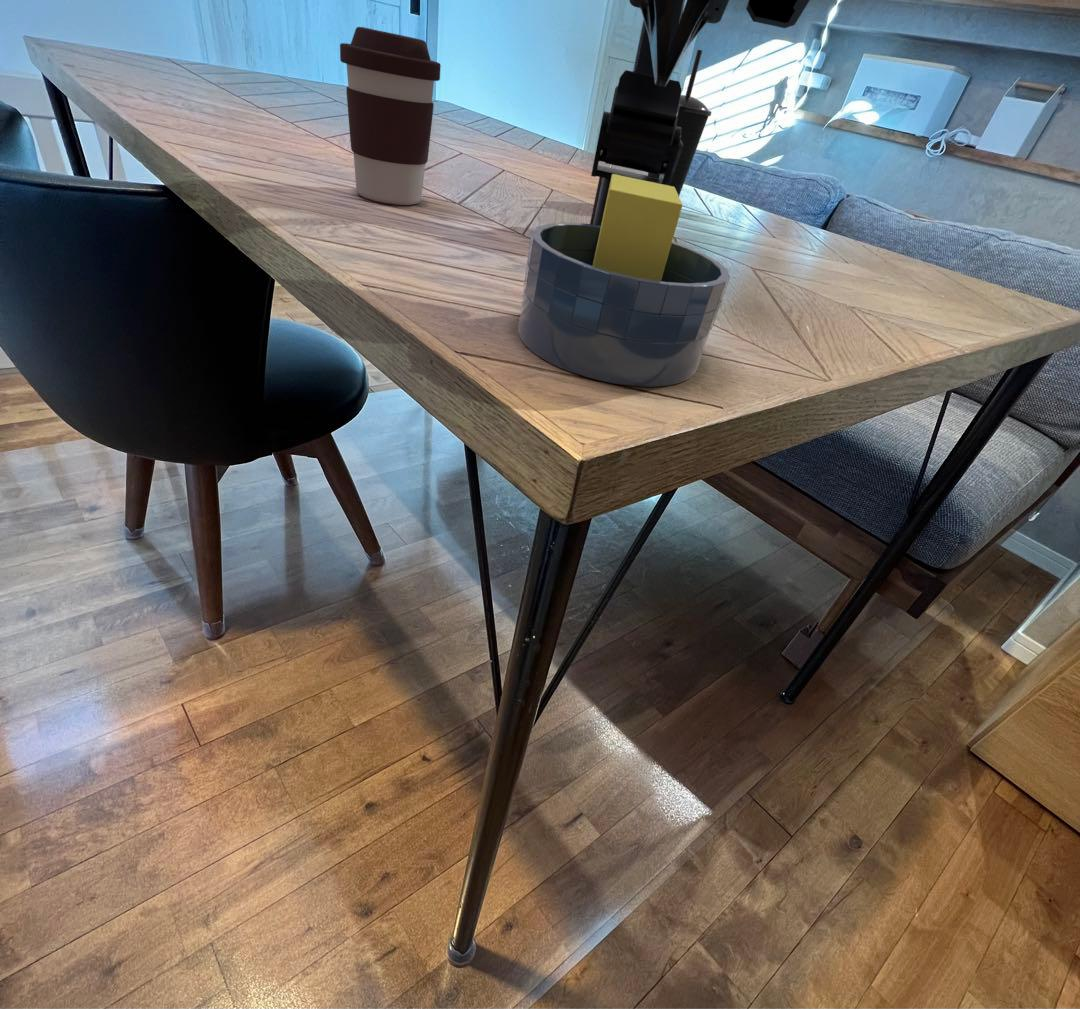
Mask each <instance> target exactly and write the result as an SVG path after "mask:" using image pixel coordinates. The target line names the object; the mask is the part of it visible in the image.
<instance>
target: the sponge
mask: <svg viewBox="0 0 1080 1009" xmlns="http://www.w3.org/2000/svg"><path fill="white" fill-rule="evenodd" d="M682 208H683V203H682V201H681V198H680V195H679V196H678V193H677V191H676V189H675V187H673V186H668V185H663V184H658V183H654V182H649V181H644V180H639V179H635V178H630V177H625V176H620V175H616V174H612V176H611V181H610V186H609V190H608V195H607V200H606V205H605V209H604V214H603V219H602V223H601V228H600V233H599V237H598V242H597V247H596V251H595V256H594V261H593V265H592V266H595V267H598V268H601V269H605V270H608V271H611V272H615V273H620V274H624V275H629V276H633V277H637V278H643V279H650V280H656V281H661V279H662V275H663V272H664V268H665V265H666V261H667V258H668V254H669V251H670V247H671V244H672V242H673V239H674V236H675V233H676V229H677V226H678V223H679V218H680V215H681V212H682Z"/></svg>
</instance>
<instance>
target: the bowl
mask: <svg viewBox="0 0 1080 1009" xmlns="http://www.w3.org/2000/svg"><path fill="white" fill-rule="evenodd" d="M600 228H601V225H594V224H590V223H583V222H555V223H546V224H542V225H539V226H536V227H535V228H534V229H533V231H531V234H530V239H529V247H528V253H527V261H526V267H525V273H524V280H523V292H522V297H521V298H522V299H521V305H520V306H521V307H520V312H519V319H518V326H517V333H518V336H519V339H520V340H521V342H522V343H523V344H524V345H525V346H526V348H527V349H528V350H530V352H532V353H533V354H535V356H538V357H539V358H541V359H542V360H544V361H546V362H547V363H549V364H551V365H553V366H555V367H557V368H560V369H562V370H565V371H567V372H570V373H572V374H575V375H578V376H581V377H585V378H588V379H591V380H595V381H599V382H604V383H609V384H613V385H620V386H629V387H641V388H642V387H643V388H652V387H653V388H655V387H656V388H658V387H666V386H673V385H678V384H680V383H683V382H685V381H688V380H690V379H691V378H692V377H693V376H694V375H695V374H696V372H697V370H698V367H699V365H700V361H701V360H702V356H703V353H704V351H705V347H706V344H707V342H708V339H709V335H710V333H711V331H712V329H713V327H714V325H715V322H716V319H717V316H718V314H719V311H720V308H721V304H722V302H723V299H724V297H725V293H726V292H727V291H726V290H727V287H728V286H729V282H730V279H731V275H730V272H729V270H728V269H727V268H726V267H725V266H724V265H723V264H721V263H720V262H719V261H718V260H716V259H714V258H712V257H710V256H709V255H707V254H705V253H703V252H701V251H699V250H696V249H694V248H692V247H689V246H686V245H684V244H681V243H678V242H675V241H672V244H671V247H670V251H669V254H668V258H667V261H666V265H665V268H664V272H663V275H662V279H661V281H656V280H650V279H643V278H637V277H633V276H629V275H624V274H620V273H615V272H611V271H608V270H605V269H601V268H598V267H595V266H592V265H593V261H594V256H595V251H596V247H597V242H598V237H599V233H600Z"/></svg>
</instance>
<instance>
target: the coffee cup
mask: <svg viewBox="0 0 1080 1009" xmlns="http://www.w3.org/2000/svg"><path fill="white" fill-rule="evenodd" d="M339 55H340V56H339V60H340V62H341V63H342V64H346V73H347V74H346V76H347V86H346V89H345V90H346V91H345V92H346V105H347V116H348V128H349V139H350V150H351V152H352V153H353V163H354V164H353V165H354V178H355V179H354V180H355V189H356V192H357V194H358V195H359V196H361V197H363V198H365V199H367V200H370V201H373V202H376V203H382V204H388V205H399V206H412V205H416V204H419V203H420V202H421V201H422V198H423V188H424V180H425V171H426V170H425V169H426V164H427V163H428V161H429V160H428V159H429V151H430V143H431V142H430V141H431V135H432V134H431V133H432V126H433V114H434V102H433V94H434V87H435V86H434V84H435V82H439V81H440V80H441V67H442V66H441V63H440V62H437V61H435V60H432V59H431V56H430V53H429V47H428V45H427V42H426V41H425V40H423V39H420V38H415V37H411V36H406V35H403V34H397V33H393V32H388V31H383V30H378V29H373V28H368V27H363V26H356V28H355V29H354V33H353V35H352V39H351V42H350V43H347V42H341V43H340V44H339Z"/></svg>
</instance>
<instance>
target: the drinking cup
mask: <svg viewBox="0 0 1080 1009" xmlns="http://www.w3.org/2000/svg"><path fill="white" fill-rule="evenodd" d="M696 50H697V51H696V54H695V58H694V61H693V67H692V70H691V72H690V76H689V81H688V84H687V88H686V92H685V94H681V96H680V107H679V112H678V118H677V124H676V126H677V127H681V134H680V135H681V141H682V143H683V148H682V151H681V154H680V157H679V160H678V163H677V166H676V168H675V171H674V174H673V178H672V181H671V185H670V186H673V187H675V189H676V191H677V193H678V196H679V197H680V195H681V192H682V189H683V187H684V184H685V182H686V179H687V176H688V173H689V171H690V167H691V165H692V162H693V160H694V157H695V154H696V151H697V148H698V147H699V143H700V140H701V137H702V135H703V132H704V130H705V128H706V125H707V121H708V119H709V117H711V116H712V111H711V110H709V109H708V107H707V106H706V105H705V104H704V103H703V102H702V101H700V100H699V99H697V98H696V97H693V96H692V92H693V91H692V90H693V87H694V84H695V80H696V76H697V73H698V69H699V65H700V61H701V59H702V58H701V57H702V54H703V50H701V49H696ZM647 176H652V177H657V178H659V177H660V174H654V173H649V172H647Z"/></svg>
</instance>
